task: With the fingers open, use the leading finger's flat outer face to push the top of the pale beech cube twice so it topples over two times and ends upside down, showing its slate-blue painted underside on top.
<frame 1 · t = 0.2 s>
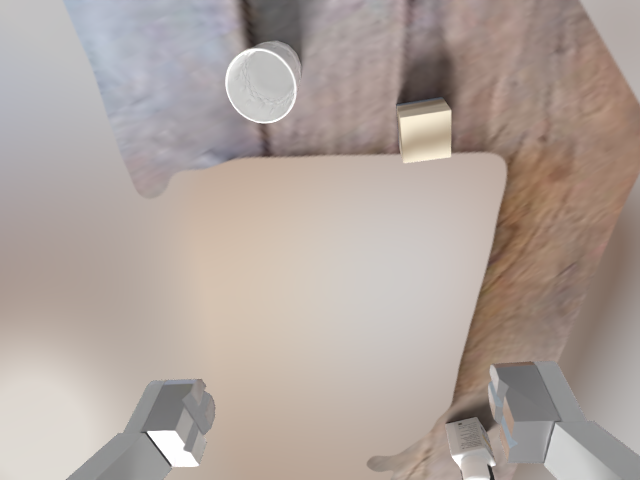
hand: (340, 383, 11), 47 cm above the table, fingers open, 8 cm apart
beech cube: (419, 122, 54), on the table
container: (465, 427, 94), on the table
white cup: (276, 68, 51), on the table
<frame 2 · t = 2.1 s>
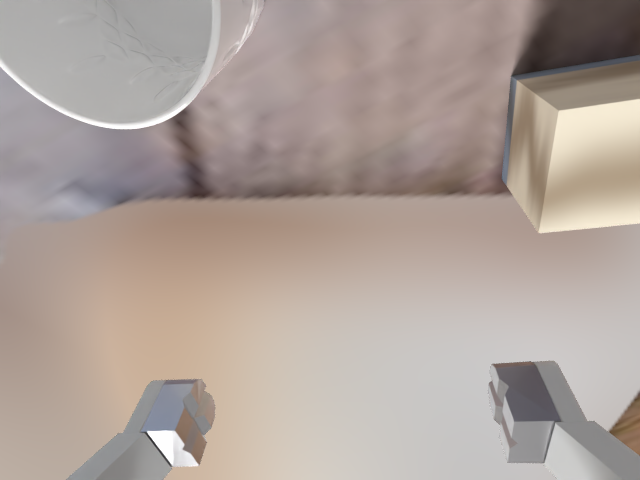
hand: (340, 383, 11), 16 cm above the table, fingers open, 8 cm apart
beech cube: (562, 122, 22), on the table
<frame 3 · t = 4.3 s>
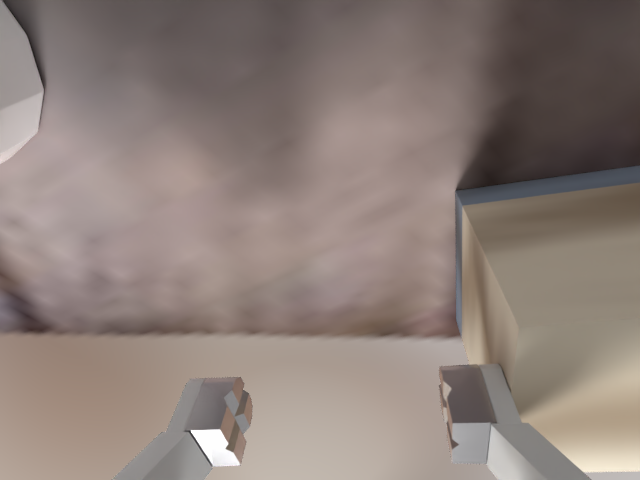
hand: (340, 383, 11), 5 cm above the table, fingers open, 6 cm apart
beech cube: (542, 253, 14), on the table, touching gripper
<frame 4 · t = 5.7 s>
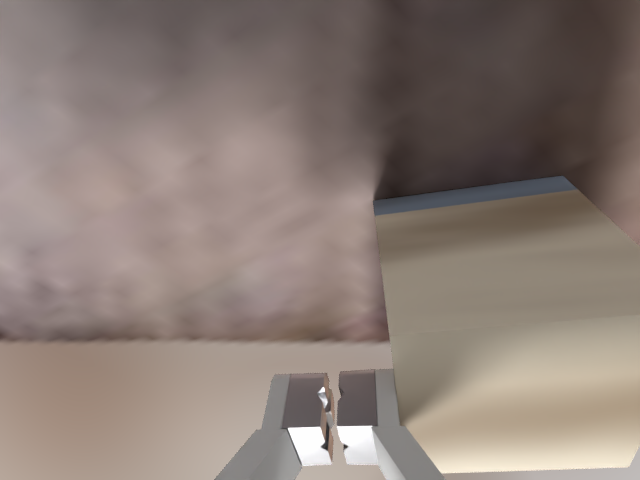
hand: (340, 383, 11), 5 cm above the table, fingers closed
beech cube: (462, 260, 14), on the table, touching gripper
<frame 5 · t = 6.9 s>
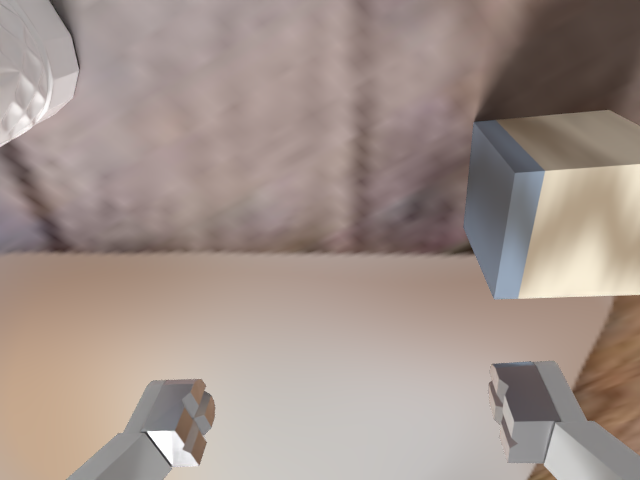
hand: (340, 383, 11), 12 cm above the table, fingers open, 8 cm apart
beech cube: (483, 206, 18), point 3 cm above the table, tilted 90°
white cup: (12, 44, 19), on the table
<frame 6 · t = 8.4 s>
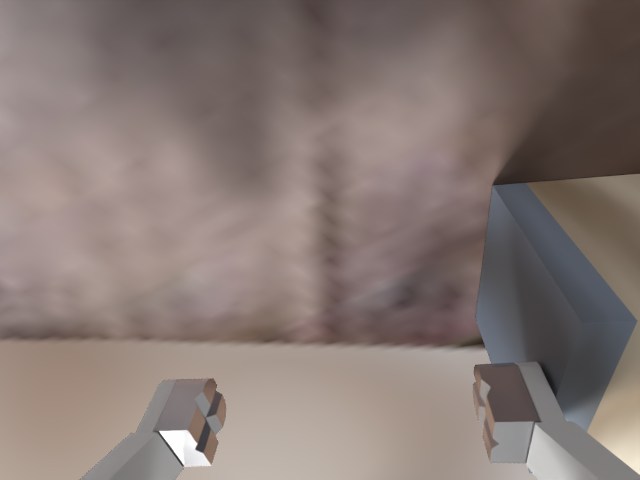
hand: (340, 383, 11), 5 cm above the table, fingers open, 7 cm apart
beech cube: (509, 319, 12), point 3 cm above the table, tilted 90°, touching gripper
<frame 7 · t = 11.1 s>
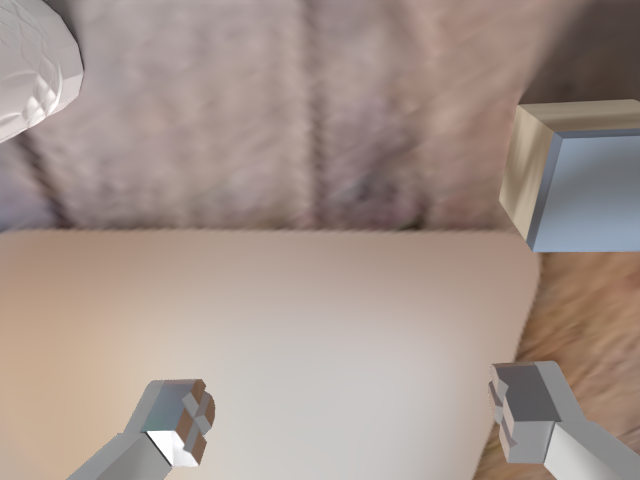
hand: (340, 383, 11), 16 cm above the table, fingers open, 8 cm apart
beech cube: (614, 198, 18), point 6 cm above the table, tilted 180°
white cup: (29, 51, 23), on the table
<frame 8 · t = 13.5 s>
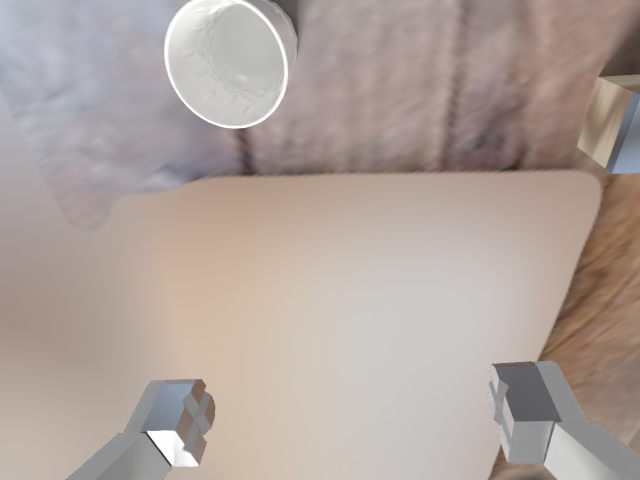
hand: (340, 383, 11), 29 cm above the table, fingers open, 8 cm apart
white cup: (259, 42, 33), on the table
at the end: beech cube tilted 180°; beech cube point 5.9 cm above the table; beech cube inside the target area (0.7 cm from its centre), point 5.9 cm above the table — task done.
